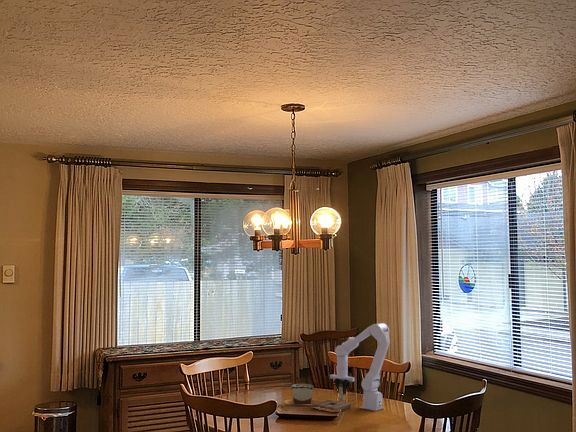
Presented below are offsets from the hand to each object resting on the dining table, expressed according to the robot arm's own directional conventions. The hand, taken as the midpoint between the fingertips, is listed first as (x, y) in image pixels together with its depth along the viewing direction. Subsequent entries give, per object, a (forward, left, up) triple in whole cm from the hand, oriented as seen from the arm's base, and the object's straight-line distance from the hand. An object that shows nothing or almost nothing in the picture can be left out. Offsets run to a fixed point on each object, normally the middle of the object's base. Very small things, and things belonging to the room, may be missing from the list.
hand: (342, 393), depth 322 cm
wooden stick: (0, 0, -3) cm, 3 cm away
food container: (+15, +15, -5) cm, 22 cm away
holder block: (-3, +14, -5) cm, 15 cm away
